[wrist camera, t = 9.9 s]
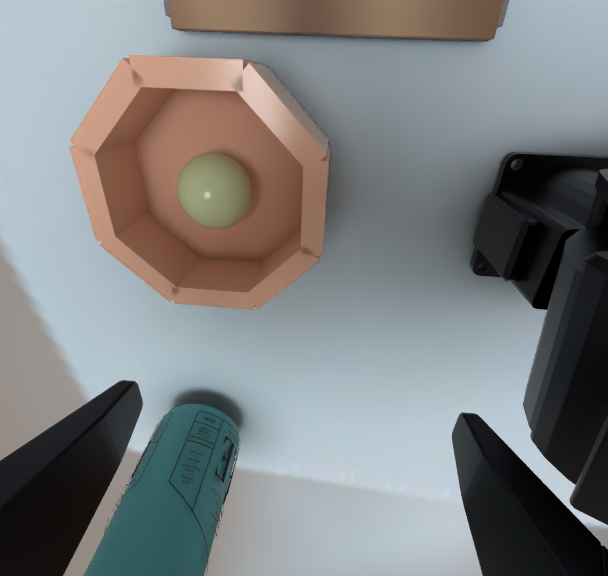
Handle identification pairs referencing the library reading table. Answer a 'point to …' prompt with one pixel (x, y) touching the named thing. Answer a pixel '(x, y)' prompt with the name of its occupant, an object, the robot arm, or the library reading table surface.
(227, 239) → the bowl
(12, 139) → the library reading table surface
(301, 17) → the lid
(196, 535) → the beverage bottle
